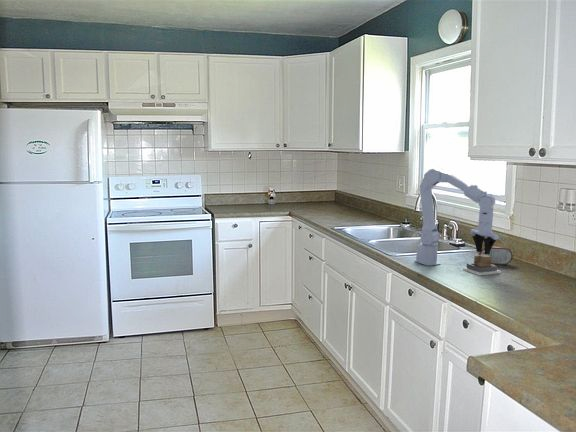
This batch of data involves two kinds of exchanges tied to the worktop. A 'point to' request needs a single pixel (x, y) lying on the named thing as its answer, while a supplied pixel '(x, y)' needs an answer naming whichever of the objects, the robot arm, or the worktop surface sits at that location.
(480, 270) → the grey tray
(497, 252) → the tin
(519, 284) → the worktop surface
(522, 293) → the worktop surface
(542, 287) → the worktop surface
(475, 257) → the plug block
